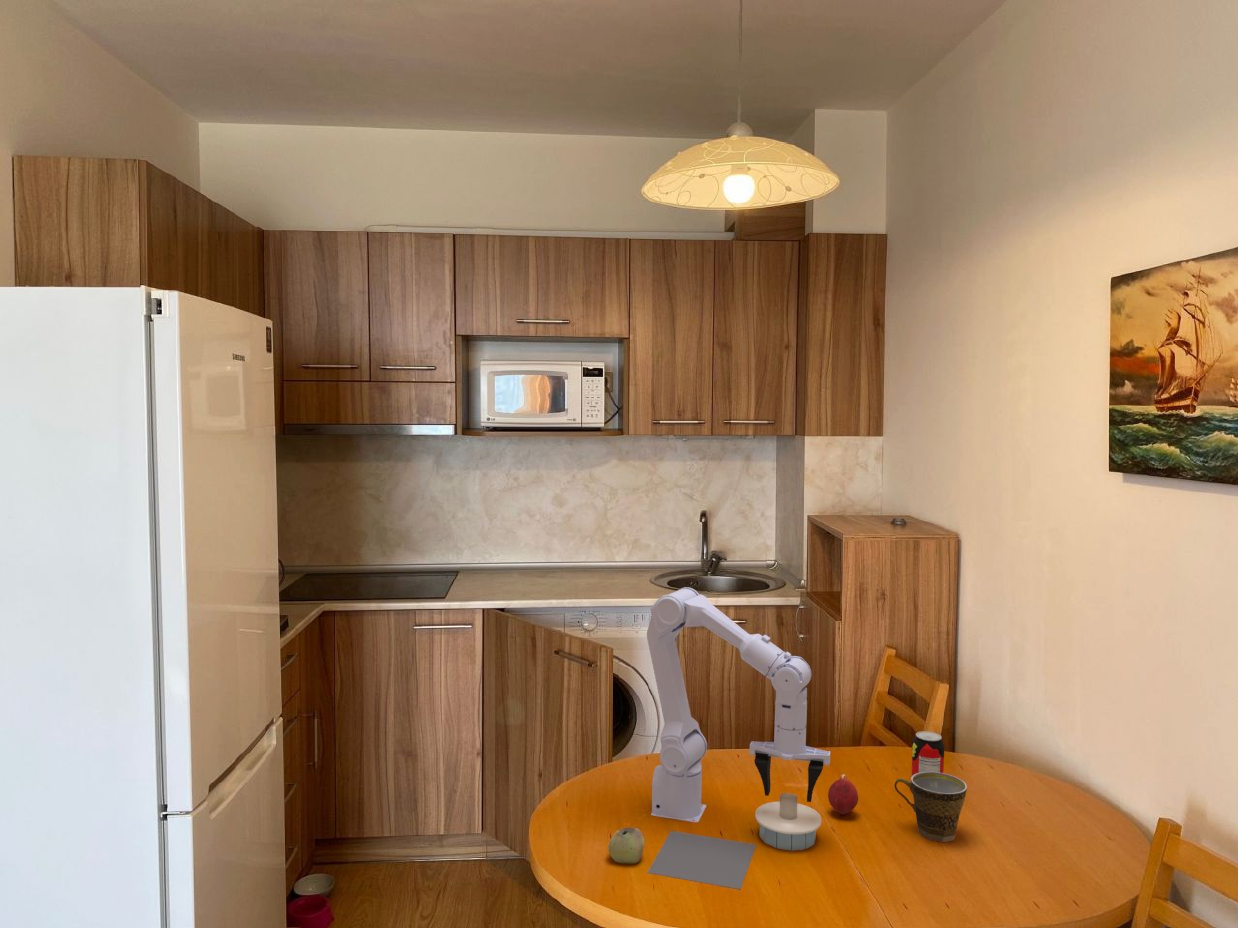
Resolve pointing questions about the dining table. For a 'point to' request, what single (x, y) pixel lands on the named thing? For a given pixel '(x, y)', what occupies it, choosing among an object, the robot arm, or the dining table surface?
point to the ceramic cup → (936, 803)
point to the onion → (843, 795)
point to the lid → (788, 816)
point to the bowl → (787, 839)
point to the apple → (627, 845)
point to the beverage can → (927, 753)
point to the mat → (703, 859)
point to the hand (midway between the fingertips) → (788, 796)
